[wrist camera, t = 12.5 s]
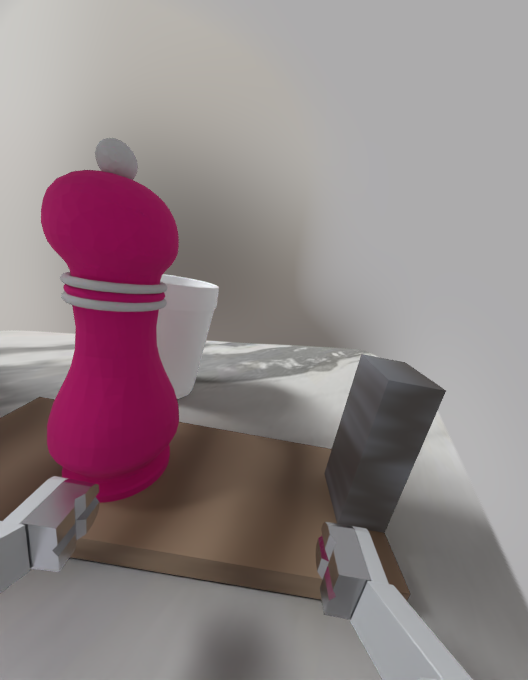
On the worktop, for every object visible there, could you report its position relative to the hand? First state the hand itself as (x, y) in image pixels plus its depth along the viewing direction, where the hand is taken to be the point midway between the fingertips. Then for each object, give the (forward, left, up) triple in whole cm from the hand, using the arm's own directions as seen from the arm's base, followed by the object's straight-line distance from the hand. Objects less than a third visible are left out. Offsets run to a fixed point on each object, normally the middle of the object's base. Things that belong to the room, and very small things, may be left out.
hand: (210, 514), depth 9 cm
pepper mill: (-10, -3, -7) cm, 12 cm away
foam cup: (-22, +2, -7) cm, 24 cm away
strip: (-8, 0, -7) cm, 11 cm away
